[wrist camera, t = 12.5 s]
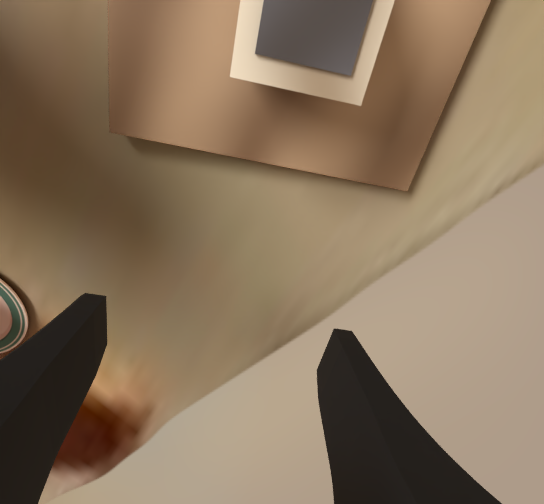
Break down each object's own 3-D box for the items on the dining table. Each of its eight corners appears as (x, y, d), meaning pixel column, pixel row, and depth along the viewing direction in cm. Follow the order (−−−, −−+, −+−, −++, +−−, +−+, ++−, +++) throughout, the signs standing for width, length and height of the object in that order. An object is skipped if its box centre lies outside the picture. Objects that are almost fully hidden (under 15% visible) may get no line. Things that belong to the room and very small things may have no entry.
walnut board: (118, 124, 18) (109, 132, 17) (117, -277, 11) (103, -305, 10) (399, 181, 20) (407, 191, 19) (533, -136, 13) (555, -148, 12)
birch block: (238, 56, 15) (229, 77, 11) (259, -90, 13) (259, -137, 9) (334, 78, 16) (362, 107, 11) (371, -58, 13) (424, -87, 9)
